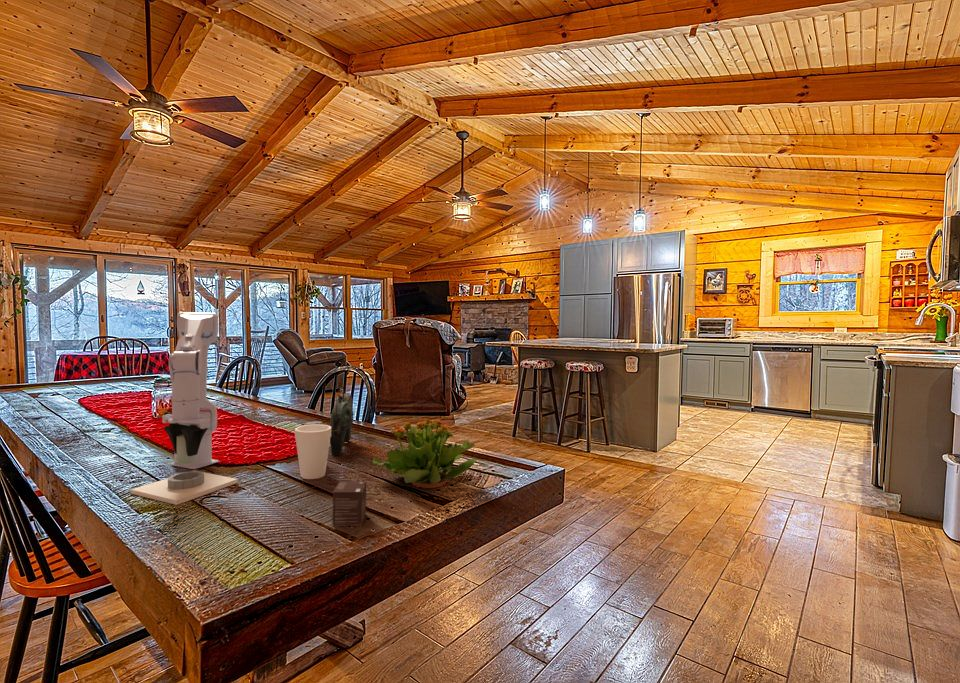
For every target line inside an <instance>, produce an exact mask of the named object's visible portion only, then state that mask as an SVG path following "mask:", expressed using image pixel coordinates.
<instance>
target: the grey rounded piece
mask: <svg viewBox="0 0 960 683" xmlns="http://www.w3.org/2000/svg"><path fill="white" fill-rule="evenodd" d="M195 461H196V455H193V456H188V455H187V451H186V442H185V438H184V435H179V436H177V464H189V463H193V462H195Z"/></svg>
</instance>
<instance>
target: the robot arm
mask: <svg viewBox="0 0 960 683" xmlns="http://www.w3.org/2000/svg"><path fill="white" fill-rule="evenodd" d="M176 328H177V333H178V336H179V339H178V340H177V344H176V347H175V350H174V352H173V353H170V354H169V358H168V370H169V378H170V382H171V407H172V408H171V413H167V414H163V415H162V416H161V419H162V423H163V424H168V423H169V425H165V426H163V430H164V431H165V433H166V434H167V436H168V437H169V440H170V442H171V445H172V449H173V451H174V452H173V457H174V459H173V460H174V462H172V463H171V466H174V467H179V468H183V469H190V470H196V469H200V468H204V467H206V466H209V465H214V464H216V463H219V461H220V460H218V459H214V458H212V453H213V452H212V448H213V447H212V433H213V432H215V431H216V430H217V429H218V427H217V426H218V412H217V410H218V409H217V406H216V404H215V403H214V402H212V401H210V400H209V399H207V388H208V387H207V386H208V383H207V381H208V380H207V379H208V356H209V355H208V354H209V353H208V352H209V348H210V346H211V344H213V343H215V342H217V339H218V330H219V317H218V313H216V312H215V311H214V312H199V311H198V312H196V311H195V312H194V311H191V312H190V311H179V312H178V313H177V316H176ZM179 435H184V438H185V442H186V451H187V455H188V456H193V455H196V461H195V462H193V463H189V464H177V436H179Z"/></svg>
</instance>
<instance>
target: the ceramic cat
mask: <svg viewBox="0 0 960 683" xmlns="http://www.w3.org/2000/svg"><path fill="white" fill-rule="evenodd" d="M339 390H340V392H341V394H337V395H336V400H335V404H334V406H333V408H332V411H331V415H330V422H329V426H331V437H330V444H329V445H330V453H331V456H340V455H342V454H343V447H344V444H345V443H344V442H349V443H350V441H351V434H352V433H351V432H352V431H351V430H352V426H353V423H354V409H353V407H354V406H353V405H354V404H353V403H354V402H353V396H352V394H350V393H345V388H344V387H340V388H339ZM349 440H350V441H349Z"/></svg>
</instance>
